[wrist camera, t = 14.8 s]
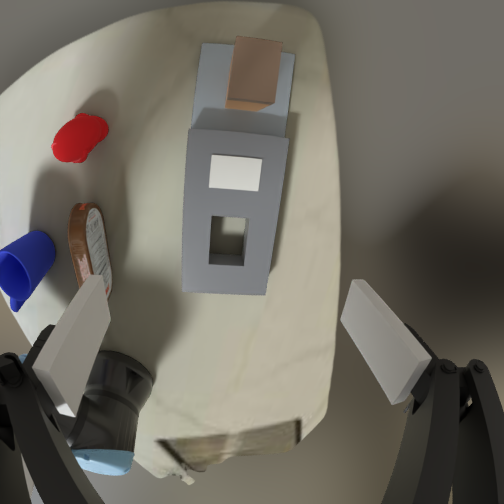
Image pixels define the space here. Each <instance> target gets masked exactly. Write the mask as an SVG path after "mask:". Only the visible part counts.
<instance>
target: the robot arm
mask: <svg viewBox="0 0 504 504" xmlns="http://www.w3.org/2000/svg"><path fill="white" fill-rule="evenodd" d="M110 321H111V316H110V311H109V307H108V302H107V297H106V292H105V286H104V280H103V275H89V276H88V278H87V279H86V280H85V282H84V283H83V285H82V286H81V288H80V289H79V291H78V292H77V293H76V295H75V296H74V298H73V299H72V301H71V302H70V304H69V305H68V307H67V309H66V310H65V312H64V313H63V315H62V316H61V318H60V320H59V321H58V323H57V324H56V325H51V324H50V325H48V326H47V327H46V328H45V329H44V330H42V331H41V333H40V335H39V336H38V338H37V340H36V341H35V343H34V344H33V347H32V348H31V349H30V351H29V353H28V354H22V355H20V356H19V357H18V356H17V355H16V354H15V353H10V352H8V353H4V354H2V355H0V504H32V503H31V495H32V491H33V487H34V485H35V486H36V489H37V491H38V493H39V495H40V497H41V499H42V500H43V503H44V504H105V503H104V502H103V500H102V499H101V497H100V496H99V495H98V493H97V492H96V490H95V489H94V487H93V486H92V484H91V483H90V481H89V480H88V478H87V476H86V475H85V473H84V472H83V470H82V469H85V470H88V471H91V472H95V473H99V474H106V475H123V474H126V473H128V472H129V471H130V469H131V465H132V461H133V457H134V447H135V439H136V431H137V424H138V417H139V412H140V411H141V409H142V407H143V406H144V404H145V403H146V401H147V399H148V398H149V396H150V394H151V391H152V385H153V381H152V377H151V375H150V373H149V372H148V371H147V369H146V368H145V367H144V366H142V365H141V364H140V363H139V362H137V361H136V360H134V359H132V358H130V357H128V356H126V355H123V354H120V353H117V352H112V351H99V348H100V346H101V343H102V340H103V338H104V336H105V333H106V331H107V328H108V326H109V324H110ZM341 322H342V323H343V325H344V327H345V328H346V330H347V331H348V333H349V334H350V336H351V338H352V339H353V341H354V343H355V344H356V346H357V347H358V349H359V351H360V352H361V354H362V355H363V357H364V359H365V360H366V362H367V364H368V365H369V367H370V369H371V370H372V372H373V373H374V375H375V377H376V379H377V380H378V382H379V383H380V385H381V387H382V389H383V390H384V392H385V393H386V395H387V397H388V399H389V400H390V402H391V404H392V405H393V404H396V403H400V402H403V401H405V400H406V398H407V397H408V395H409V394H410V392H411V393H412V395H413V399H412V400H411V402H410V403H409V404H408V406H407V407H406V408H405V410H404V413H405V412H406V411H407V410H408V409H409V413H408V417H407V422H406V426H405V430H404V435H403V439H402V442H401V446H400V450H399V453H398V457H397V460H396V463H395V467H394V470H393V473H392V476H391V479H390V482H389V484H388V487H387V490H386V493H385V495H384V498H383V501H382V503H381V504H448V501H449V496H450V491H451V487H452V491H453V504H504V412H503V409H502V405H501V402H500V400H499V397H498V394H497V391H496V388H495V385H494V383H493V380H492V377H491V375H490V372H489V370H488V368H487V366H486V365H485V364H484V363H483V362H482V361H480V360H477V359H473V360H471V361H470V362H469V363H468V365H467V366H466V367H457V366H456V365H455V364H454V363H453V362H452V361H450V360H447V359H438V357H437V356H436V355H435V354H434V352H433V351H432V350H431V349H430V348H429V346H428V345H427V344H426V343H425V342H423V339H422V338H421V337H419V335H418V334H417V332H416V331H415V330H414V329H413V328H411V327H410V326H409V325H407V324H406V323H404V324H403V323H402V322H401V320H400V319H399V318H398V317H397V316H396V315H395V314H394V313H393V312H392V310H391V309H390V308H389V307H388V306H387V305H386V303H385V302H384V301H383V300H382V299H381V298H380V297H379V296H378V295H377V293H376V292H375V291H374V290H373V289H372V288H371V287H370V286H369V285H368V284H367V283H366V282H365V280H352V282H351V286H350V290H349V293H348V297H347V300H346V303H345V307H344V310H343V313H342V316H341ZM98 351H99V352H98ZM83 392H84V394H83ZM470 398H472V404H471V405H470V406H468V403H467V402H468V401H469V400H470Z"/></svg>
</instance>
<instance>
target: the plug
mask: <svg viewBox="0 0 504 504" xmlns="http://www.w3.org/2000/svg"><path fill="white" fill-rule="evenodd" d="M282 44H283V43H282V42H277V41H271V40H265V39H258V38H250V37H242V36H237V37H236V41H235V46H234V50H233V55H232V59H231V64H230V71H229V78H228V86H227V93H226V101H225V108H227V109H237V110H247V111H255V112H256V111H259V110H261V109H263V108H265V107H267V106H270V105H272V104H274V103H275V98H276V91H277V83H278V75H279V67H280V59H281V52H282Z"/></svg>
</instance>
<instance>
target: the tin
mask: <svg viewBox="0 0 504 504" xmlns="http://www.w3.org/2000/svg"><path fill="white" fill-rule="evenodd" d="M68 243H69V248H70V253H71V257H72V262H73V266H74V270H75V274H76V278H77V282H78V285H79V289H80V288H81V286H82V285H83V283H84V282H85V280H86V279H87V278H88V276H89V275H103V280H104V286H105V292H106V297H107V302H108V300H109V297H110V294H111V292H112V268H111V262H110V257H109V251H108V245H107V238H106V232H105V225H104V219H103V215H102V212H101V210H100V208H99V206H98V205H97V204H95V203H84V204H82V203H78V204H76V205H75V206H74V207H73V208H72V211H71V213H70V216H69V220H68Z"/></svg>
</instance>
